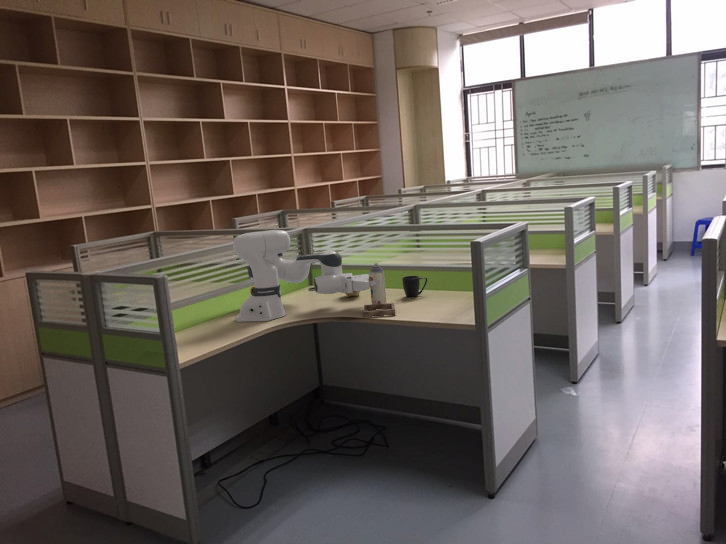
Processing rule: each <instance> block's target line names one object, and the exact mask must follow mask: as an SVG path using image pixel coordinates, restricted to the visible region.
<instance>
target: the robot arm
mask: <svg viewBox="0 0 726 544" xmlns="http://www.w3.org/2000/svg"><path fill="white" fill-rule="evenodd" d="M291 241H292V240H291V236H290V235H289V233H288V232H287V231H286V230H281V229H271V230H270V229H269V230H263V231H261V230H260V231H253V232H252V231H251V232H245V233H243V234H240V235H237V236H235V237H234V240H233V243H232V244H233V245H232V247H233V252H234V253H235V254H236V255H237V257H239V258H240V259H242V260H243V261H244V262H246V263H247V265H248V267H246V269H247V275H248V278H249V279H250V280H251V281H253V285H252V286H251V287H250V296H249V297H248V298H247V299H246V300H245V301H244V302H243V303H242V304H241V306H240V308H239V309H240V310H239V311H240V312H239V314H237V316H236V317H235V321H236V322H237V323H238V322H239V323H240V322H241V323H245V322H246V323H247V322H249V323H250V322H269V321H272V320H275V319H276V320H277V319H279V318H282V317H284V316H286V311H285V308H284V305H283V301H282V288H281V284H280V280H281V281H283V282H287V283H289V284H290V283H291V284H301V283H303V282H304V281H305V280H307V278H308V277H309V274H310V270H311V269H310V268H311V264H312V263H313V264H314V263H319V264H320V267H321V268H320V269H321V275H320V276H315V277H313V278H314V279H313V286H314V291H315V292H316V294H319V295H321V294H322V295H334V294H337V293H341V294H345V293H353V292H354V291H360V292H361V291H367V290H370V286H373V285H379V280H375V281H370V276H369V273H368V274H367V273H364V274H363V273H362V274H356V275H355V274H354V275H353V273H352V272H350V273H349V272H348V273H343V267H342V263H343V262H342V260H343V258H342V255H341V254H340V253H339V252H337V251H333V250H331V251H326V252H317V253H307V254H303V255H302V254H301V255H299V256H298V257H296V258H295V260H291V259H283V258H282V257H283V253H286V252H287V251H289V250H290V248H291Z"/></svg>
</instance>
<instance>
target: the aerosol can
mask: <svg viewBox="0 0 726 544" xmlns="http://www.w3.org/2000/svg"><path fill="white" fill-rule="evenodd" d="M368 274H369V277H370V281H375V280H379V285H373V286H369V290H370V298H371V300H370V301H371V305H372V304H385V303H387V292H386V290H387V289H386V280H385V279H386V278H385V269H384V268H382V267H381V266H380V265H379V264H378V262H376V263H375V262H374V265H373V266H372V267H371V269H370V270H369V272H368Z"/></svg>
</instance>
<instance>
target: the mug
mask: <svg viewBox="0 0 726 544" xmlns="http://www.w3.org/2000/svg"><path fill="white" fill-rule="evenodd" d="M422 279H425V281H424V283H423V284H424V285H423V286H422V288H421V290H420V285H421V284H420V280H422ZM401 281H402V287H403V291H404V294H405V297H406V298H409V299H410V298H411V299H412V298H413V297H414V298H417V297H418V296H420V295H421V294H422V293H423V291H424V289H425V287H426V285H427V282H428V278H427V277H426V276H423V277H420V276H419V275H407V276H403V277H402V280H401Z"/></svg>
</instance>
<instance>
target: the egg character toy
mask: <svg viewBox="0 0 726 544" xmlns="http://www.w3.org/2000/svg"><path fill="white" fill-rule="evenodd" d="M360 293H361V291H354V292H353V293H344V294H345V295H346V298H349V297H354V296H356V297H360Z"/></svg>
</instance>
